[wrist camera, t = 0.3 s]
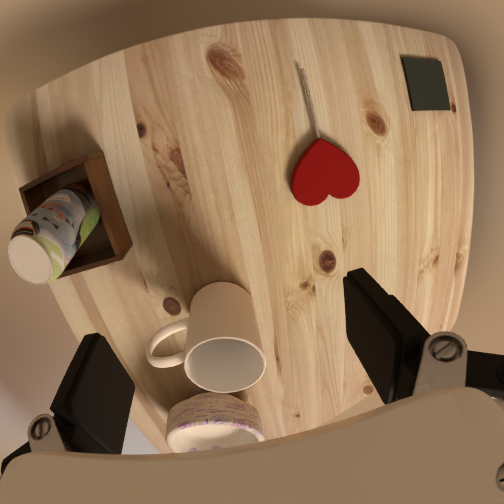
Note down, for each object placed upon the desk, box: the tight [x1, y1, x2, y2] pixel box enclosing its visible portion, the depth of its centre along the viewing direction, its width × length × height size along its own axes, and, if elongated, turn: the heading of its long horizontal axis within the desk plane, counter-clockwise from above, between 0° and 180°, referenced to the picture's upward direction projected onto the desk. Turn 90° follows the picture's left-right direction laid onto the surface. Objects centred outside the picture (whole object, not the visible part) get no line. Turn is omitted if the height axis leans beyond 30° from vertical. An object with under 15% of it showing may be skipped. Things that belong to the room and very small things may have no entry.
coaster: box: [401, 58, 450, 111], centre depth 27 cm, size 7×7×1 cm
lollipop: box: [291, 68, 360, 206], centre depth 28 cm, size 8×1×15 cm
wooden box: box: [19, 151, 133, 279], centre depth 27 cm, size 11×10×4 cm
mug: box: [145, 282, 266, 393], centre depth 31 cm, size 12×8×10 cm, turn 90°
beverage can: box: [8, 183, 100, 286], centre depth 23 cm, size 6×7×12 cm
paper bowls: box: [165, 392, 265, 453], centre depth 40 cm, size 15×15×8 cm
